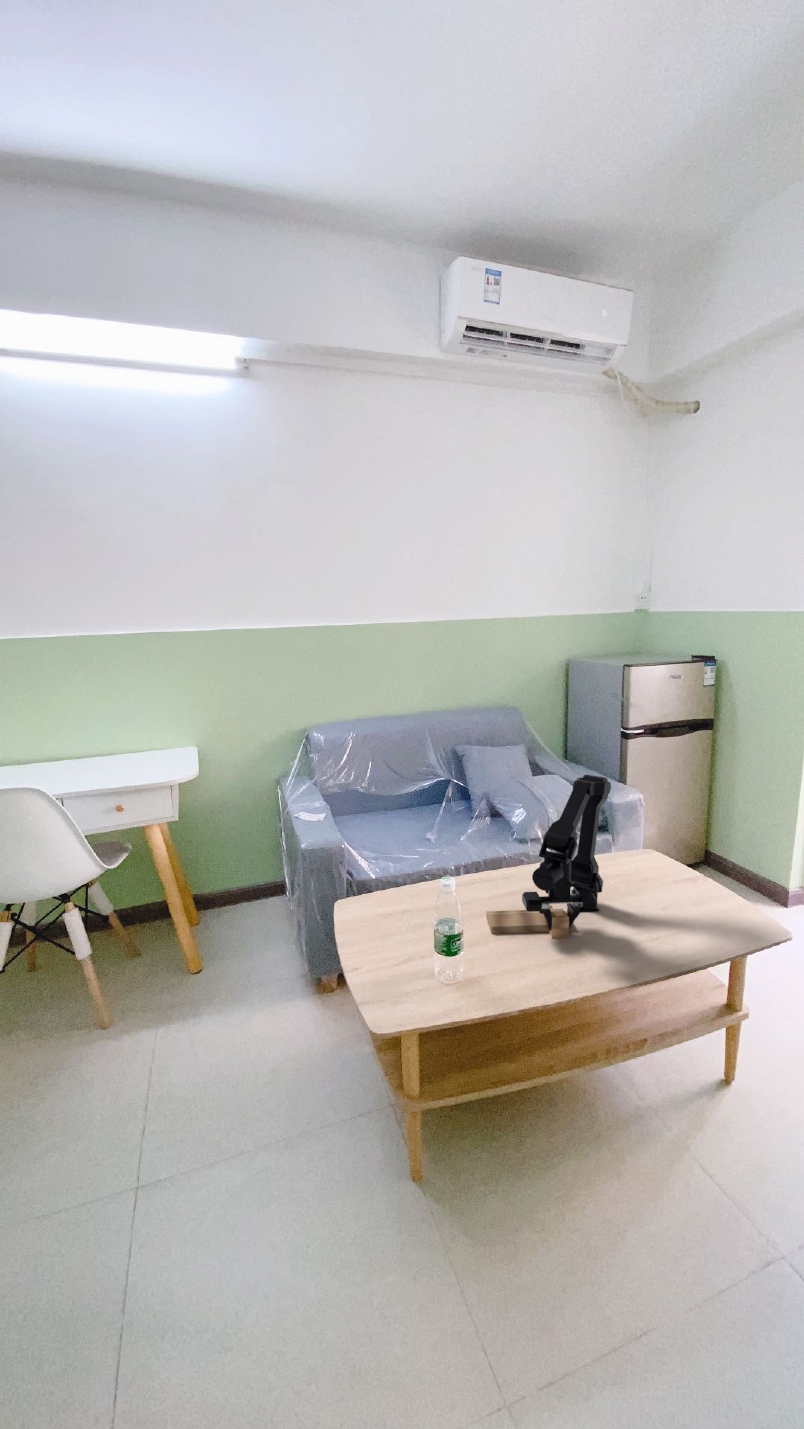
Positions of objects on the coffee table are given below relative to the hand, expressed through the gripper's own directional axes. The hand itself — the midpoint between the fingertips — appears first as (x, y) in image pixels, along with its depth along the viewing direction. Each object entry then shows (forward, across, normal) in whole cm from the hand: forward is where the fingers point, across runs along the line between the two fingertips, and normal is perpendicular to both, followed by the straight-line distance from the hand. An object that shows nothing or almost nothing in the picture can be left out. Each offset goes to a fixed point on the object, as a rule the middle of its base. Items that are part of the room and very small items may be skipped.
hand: (558, 929), depth 146 cm
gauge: (+2, 0, -4) cm, 4 cm away
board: (+2, +7, -6) cm, 9 cm away
